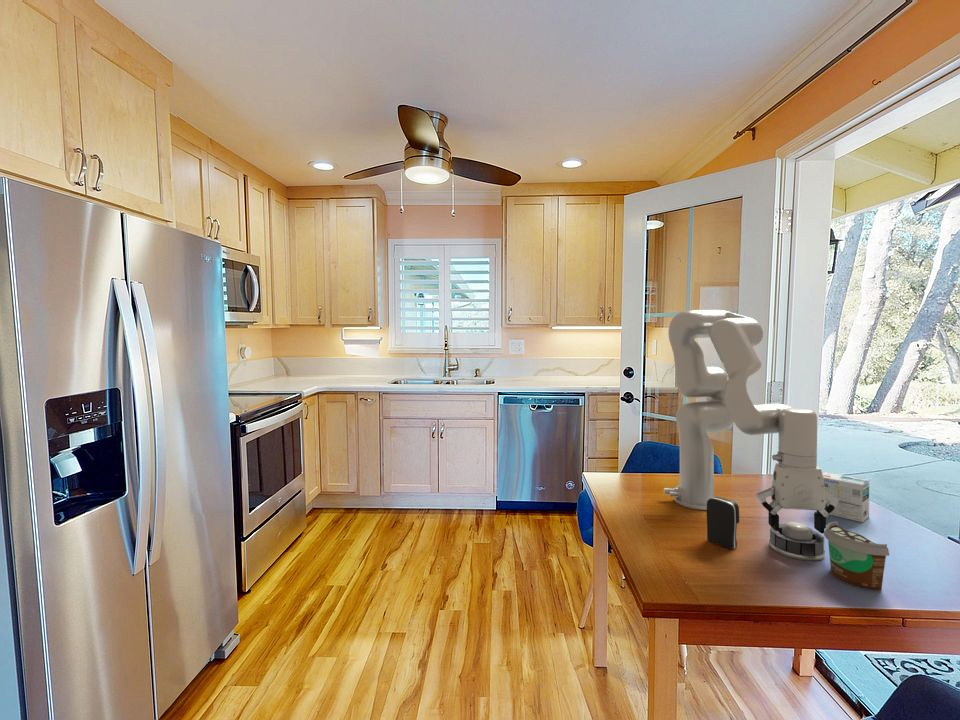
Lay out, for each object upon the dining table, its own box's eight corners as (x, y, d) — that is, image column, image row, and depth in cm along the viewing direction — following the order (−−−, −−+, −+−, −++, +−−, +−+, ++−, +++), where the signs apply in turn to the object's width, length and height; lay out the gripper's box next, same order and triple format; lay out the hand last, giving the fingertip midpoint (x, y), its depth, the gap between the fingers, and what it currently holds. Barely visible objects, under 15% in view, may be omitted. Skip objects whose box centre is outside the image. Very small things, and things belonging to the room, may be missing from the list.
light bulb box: (869, 517, 126) (870, 479, 125) (863, 523, 122) (864, 484, 121) (823, 506, 134) (824, 471, 134) (816, 512, 130) (816, 475, 130)
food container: (809, 565, 101) (809, 522, 100) (834, 563, 101) (835, 520, 101) (860, 596, 89) (861, 547, 88) (888, 594, 89) (889, 545, 89)
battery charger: (741, 546, 110) (741, 501, 110) (733, 551, 108) (733, 504, 108) (713, 536, 116) (713, 493, 116) (705, 540, 114) (705, 496, 114)
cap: (789, 550, 106) (789, 530, 105) (777, 539, 111) (777, 519, 111) (817, 552, 104) (818, 531, 104) (804, 541, 110) (804, 521, 110)
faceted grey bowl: (781, 559, 104) (781, 542, 104) (761, 538, 115) (761, 522, 114) (835, 562, 102) (835, 545, 101) (809, 540, 112) (810, 525, 112)
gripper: (764, 463, 105) (763, 534, 106) (847, 465, 102) (846, 539, 102) (751, 455, 112) (751, 521, 113) (829, 456, 109) (828, 525, 110)
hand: (796, 529), depth 108 cm, fingers open, 9 cm apart
